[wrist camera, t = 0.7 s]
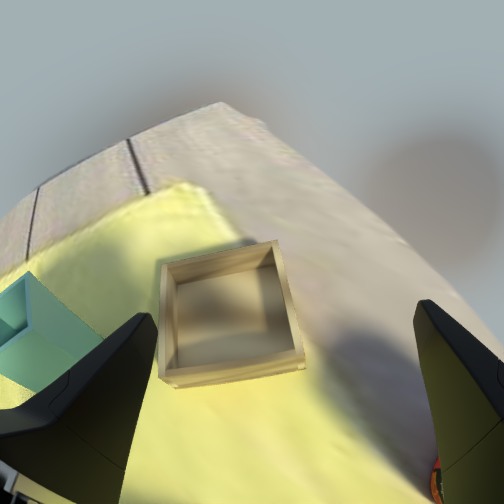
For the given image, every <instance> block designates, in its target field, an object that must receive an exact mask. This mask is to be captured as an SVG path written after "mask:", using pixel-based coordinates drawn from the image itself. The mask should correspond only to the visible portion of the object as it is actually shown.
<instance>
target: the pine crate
mask: <svg viewBox="0 0 504 504" xmlns="http://www.w3.org/2000/svg"><path fill="white" fill-rule="evenodd" d="M302 369H306V367H305V353H304V348H303V344H302V339H301V335H300V331H299V326H298V322H297V318H296V314H295V309H294V305H293V301H292V297H291V293H290V288H289V284H288V280H287V276H286V272H285V268H284V264H283V260H282V256H281V252H280V248H279V244H278V240H273V241H269V242H264V243H259V244H254V245H250V246H245V247H240V248H236V249H231V250H226V251H222V252H217V253H213V254H208V255H203V256H199V257H194V258H189V259H185V260H180V261H176V262H171V263H166V264H162V266H161V282H160V301H159V331H158V378H159V379H161V380H162V381H164V382H165V383H167V384H168V385H170V386H171V387H173V388H175V389H182V388H192V387H200V386H209V385H216V384H224V383H231V382H237V381H244V380H250V379H256V378H262V377H267V376H272V375H278V374H283V373H288V372H293V371H297V370H302Z"/></svg>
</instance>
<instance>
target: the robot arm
mask: <svg viewBox="0 0 504 504" xmlns="http://www.w3.org/2000/svg"><path fill="white" fill-rule="evenodd" d="M413 326H414V332H415V337H416V343H417V349H418V356H419V362H420V367H421V371H422V375H423V379H424V383H425V387H426V391H427V396H428V400H429V404H430V409H431V414H432V419H433V424H434V429H435V435H436V440H437V446H438V453H439V459H440V466H441V473H442V484H443V494H444V504H504V363H503V362H502V361H501V360H500V359H499V360H498V357H497V356H496V355H495V354H493V353H492V352H491V351H490V350H489V349H488V348H487V347H486V346H485V345H483V344H482V343H481V342H480V341H479V340H478V339H477V338H476V337H474V336H473V335H472V334H471V333H470V332H469V331H468V330H466V329H465V328H464V327H463V326H462V325H461V324H459V323H458V322H457V321H456V320H455V319H454V318H452V317H451V316H450V315H449V314H448V313H446V312H445V311H444V310H443V309H442V308H440V307H439V306H438V305H437V304H435V303H434V302H433V301H432V300H430V299H427V300H420V301H419V302H418V304H417V307H416V311H415V315H414V319H413ZM157 337H158V330H157V327H156V325H155V323H154V321H153V319H152V317H151V315H150V314H149V313H145V312H140V313H137V314H136V315H135V316H133V317H132V318H131V319H130V320H128V321H127V322H126V323H125V324H123V325H122V326H121V327H120V328H118V329H117V330H116V331H115V332H113V333H112V334H111V335H110V336H108V337H107V338H106V339H105V340H104V341H102V342H101V343H100V344H99V345H97V346H96V347H95V348H94V349H92V350H91V351H90V352H89V353H88V354H86V355H85V356H84V357H83V358H82V359H80V360H79V361H78V362H77V363H75V364H74V365H73V366H72V367H71V368H70V369H68V370H67V371H66V372H65V373H63V374H62V375H61V376H60V377H58V378H57V379H56V380H55V381H53V382H52V383H51V384H49V385H48V386H47V387H45V388H44V389H43V390H41V391H40V392H38V393H37V394H35V395H34V396H33V397H31V398H30V399H28V400H27V401H26V402H24V403H23V404H21V405H20V406H17V407H15V408H12V409H0V504H118V503H119V498H120V493H121V489H122V484H123V480H124V475H125V470H126V466H127V461H128V457H129V453H130V449H131V445H132V441H133V437H134V433H135V429H136V425H137V421H138V417H139V413H140V410H141V406H142V402H143V399H144V395H145V392H146V388H147V384H148V381H149V377H150V374H151V369H152V364H153V359H154V353H155V348H156V342H157Z"/></svg>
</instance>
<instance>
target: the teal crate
mask: <svg viewBox="0 0 504 504" xmlns="http://www.w3.org/2000/svg"><path fill="white" fill-rule="evenodd" d="M102 341H104V338H102V337H101V336H100V335H99V334H97V333H96V332H95V331H94V330H93V329H91V328H90V327H89V326H88V325H87V324H85V323H84V322H83V321H82V320H81V319H80V318H78V317H77V316H76V315H75V314H74V313H73V312H72V311H70V310H69V309H68V308H67V307H66V306H65V305H64V304H63V303H62V302H60V301H59V300H58V299H57V298H56V297H55V296H54V295H53V294H52V293H51V292H50V291H49V290H48V289H47V288H46V287H45V286H44V285H43V284H42V283H41V282H40V281H39V280H38V279H37V278H36V277H35V276H34V275H33V274H32V273H31V272H30V271H28V272H27V273H25V274H24V275H23V276H21V277H20V278H19V279H18V280H16V281H15V282H14V283H13V284H11V285H10V286H9V287H8V288H6V289H5V290H4V291H3V292H2V293H0V374H2V375H3V376H5V377H7V378H9V379H11V380H12V381H14V382H16V383H18V384H20V385H22V386H24V387H26V388H28V389H29V390H31V391H33V392H36V393H38V392H40V391H41V390H43V389H44V388H45V387H47V386H48V385H49V384H51V383H52V382H53V381H55V380H56V379H57V378H58V377H60V376H61V375H62V374H63V373H65V372H66V371H67V370H68V369H70V368H71V367H72V366H73V365H74V364H75V363H77V362H78V361H79V360H80V359H82V358H83V357H84V356H85V355H86V354H88V353H89V352H90V351H91V350H92V349H94V348H95V347H96V346H97V345H99V344H100V343H101V342H102Z"/></svg>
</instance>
